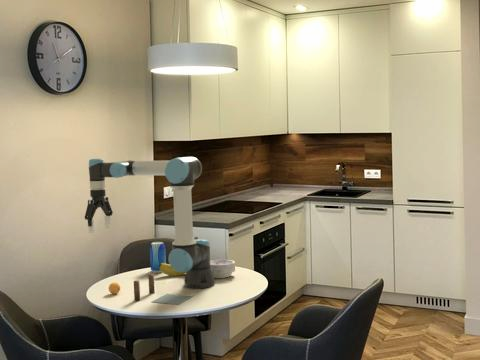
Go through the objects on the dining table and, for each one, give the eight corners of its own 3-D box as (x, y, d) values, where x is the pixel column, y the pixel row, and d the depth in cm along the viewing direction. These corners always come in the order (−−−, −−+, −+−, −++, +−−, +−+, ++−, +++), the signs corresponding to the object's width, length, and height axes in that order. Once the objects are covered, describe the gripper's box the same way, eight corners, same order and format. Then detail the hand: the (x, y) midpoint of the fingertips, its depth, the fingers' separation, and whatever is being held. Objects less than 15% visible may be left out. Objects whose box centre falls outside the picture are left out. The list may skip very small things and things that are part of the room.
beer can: (163, 273, 329) (162, 244, 328) (148, 273, 331) (147, 244, 330) (168, 269, 337) (166, 241, 336) (153, 269, 339) (152, 241, 338)
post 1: (141, 299, 278) (140, 280, 277) (138, 301, 275) (137, 282, 275) (136, 299, 279) (135, 280, 278) (133, 300, 276) (132, 281, 276)
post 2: (155, 292, 289) (154, 274, 288) (152, 294, 287) (151, 275, 286) (151, 292, 290) (150, 274, 290) (148, 293, 288) (147, 275, 287)
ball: (122, 292, 291) (122, 281, 291) (116, 295, 286) (115, 284, 286) (113, 291, 293) (112, 280, 293) (106, 294, 288) (105, 283, 288)
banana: (160, 278, 318) (158, 240, 317) (158, 275, 324) (156, 239, 322) (201, 274, 324) (200, 237, 323) (199, 271, 330) (198, 235, 328)
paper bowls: (227, 271, 328) (227, 257, 327) (240, 277, 314) (240, 262, 314) (202, 275, 321) (201, 261, 320) (214, 281, 307) (213, 266, 307)
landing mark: (193, 296, 280) (193, 296, 280) (178, 304, 268) (178, 304, 268) (167, 294, 286) (167, 293, 286) (151, 302, 273) (151, 301, 273)
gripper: (106, 186, 318) (108, 226, 320) (75, 191, 295) (78, 234, 297) (118, 186, 315) (120, 226, 317) (88, 191, 292) (90, 234, 294)
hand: (99, 230), depth 307 cm, fingers open, 13 cm apart
